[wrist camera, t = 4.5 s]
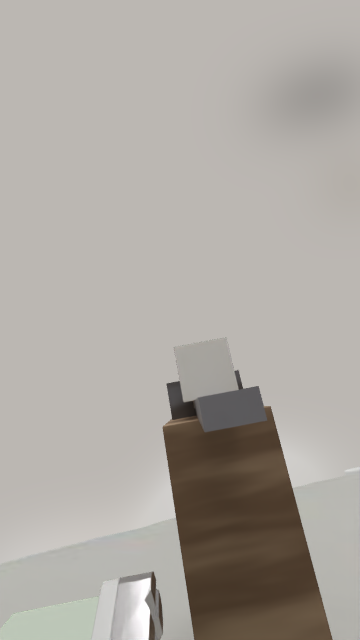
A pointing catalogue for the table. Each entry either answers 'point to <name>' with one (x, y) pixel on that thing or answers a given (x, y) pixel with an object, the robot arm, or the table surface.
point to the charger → (216, 386)
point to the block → (53, 622)
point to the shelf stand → (240, 531)
